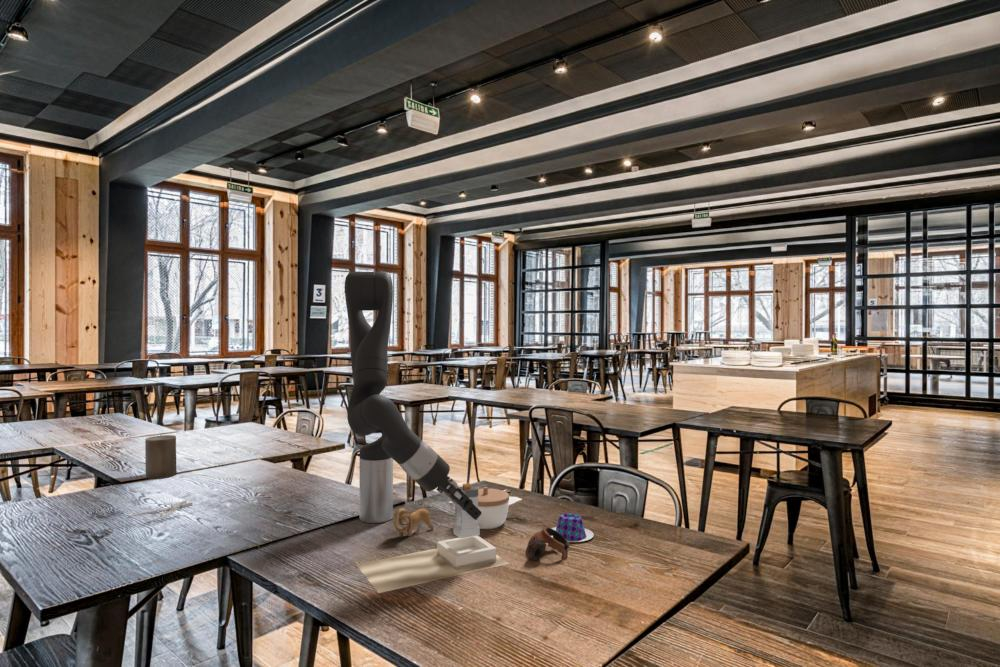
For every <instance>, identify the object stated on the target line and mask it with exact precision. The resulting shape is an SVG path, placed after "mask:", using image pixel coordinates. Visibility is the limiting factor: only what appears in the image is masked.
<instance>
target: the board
mask: <svg viewBox="0 0 1000 667" xmlns="http://www.w3.org/2000/svg"><path fill="white" fill-rule="evenodd" d="M507 565H510V563H509V562H508V561H506V559H504V558H502V557H501V556H499V555H498V554H496V562H492V563H487V564H483V565H478V566H473V567H469V568H464V569H460V570H455V569H454V568H452V567H451V566H450V565H449V564H448V563H447V562H445V561H444V560H443V559H442V558H441V557H440V556H438V555H437V548H432V549H427V550H421V551H418V552H417V551H416V552H412V553H408V554H406V553H405V554H402V555H396V556H391V557H386V558H382V559H376V560H372V561H366V562H362V563H361V562H360V563H356V564H355V566H356V567H357V568H358V570H359V571H360V572H361V573H362V575H363V576H364V578H366V580H367V581H368V583H369V584H370V585H371V586H372V587H373V589H374V590H375V591H376V593H377V594H382V593H386V592H390V591H396V590H400V589H403V588H408V587H409V588H410V587H413V586H417V585H422V584H426V583H430V582H431V583H432V582H434V581H440V580H444V579H448V578H453V577H457V576H461V575H466V574H471V573H475V572H480V571H485V570H489V569H493V568H497V567H501V566H507Z"/></svg>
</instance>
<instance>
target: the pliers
mask: <svg viewBox="0 0 1000 667" xmlns="http://www.w3.org/2000/svg"><path fill="white" fill-rule="evenodd" d="M189 506H192V507H193V502H192V501H191V502H188V501H187V500H183V501H178V502H176V503H173V504H171V505H170V507H169V508H168V507H167V508H159V509H152V510H146V511H141V512H137V513H134V514H131V515H128V518H132V517H131V516H134V517H136V516H135V515H138V516H140V515H139V514H143V515H145V514H144V513H154V514H160V513H159V512H162V511H163V512H162V513H161V515H160V516H158V517H155V518H153V519H150V520H148V523H149V522H150V523H153V522H152V521H154V522H156V521H155V520H157V521H159V520H158V519H161V518H163V519H165V518H164V517H166V518H168V517H170V516H172V515H173V514H174V513H175V512H177V511H179V510H178V509H181V510H183V509H182V508H184V509H186V508H185V507H188V508H190V507H189ZM165 510H168V512H166V511H165ZM176 510H177V511H176ZM157 511H159V512H157ZM174 511H175V512H174ZM173 512H174V513H173ZM164 513H165V514H164ZM171 514H172V515H171ZM169 515H170V516H169ZM167 516H168V517H167ZM161 520H162V519H161Z"/></svg>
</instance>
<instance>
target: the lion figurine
mask: <svg viewBox="0 0 1000 667" xmlns="http://www.w3.org/2000/svg"><path fill="white" fill-rule="evenodd" d="M392 520H393V525H394V528H395V530H397V532H398V533H399V538H402V537H404V532H405V533H406V532H407V537H411V536H413V535H412V532H413V534H415V535H418V534H419V533H420V531H421V529H422V523H424V524H425V525H426V526H428V529H429V530H428V532H430V533H431V532H434V525H433V523H432V521H431V515H430V512H429V510H427V509H426V508H418V509H417V510H415V511H414V512H410V511H409V510H407V509H405V508H403V507H401V508H398V509H397V510H395V512H393V518H392ZM416 526H417V529H416V531H413V528H416Z"/></svg>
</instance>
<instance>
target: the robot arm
mask: <svg viewBox="0 0 1000 667" xmlns="http://www.w3.org/2000/svg"><path fill="white" fill-rule="evenodd" d="M344 297H345V306H346V311H347V312H346V313H347V317H348V318H347V319H348V326H349V334H350V335H349V340H350V343H349V344H350V363H351V372H352V373H351V374H352V380H353V386H352V389H351V393H350V398H349V402H348V407H347V414H346V416H347V422H348V425H349V428H350V430H351V431H352V432H354V434H355V435H358V436H360V437H363V436H364V437H365V436H370V435H371V434H381V436H380V437H379V438H377V439H376V440H374V441H372V442H369V443H367V444H365V445H362V446H361V447H360V448H359V506H358V508H359V511H358V512H359V515H358V516H359V520H360V522H362V523H367V524H378V523H384V522H388V521H390V520H393V517H394V461H395V463H397V465H399V466H400V467H401V469H402V470H403V472H405V473H406V474H407V475H408V476H409V477H410V478H411V479H412V480H413V481H414V482H416V484H418V486H420V487H421V488H422V489H423V490H424V491H425V492H433V491H434V490H436V491H437V492H438V493H440V495H442V496H443V497H445V498H446V499H447V500H448V501H449V502H451V503H452V504H453V505H454V506H455V505H457V504H458V505H459V506H460V507H461V508H462V510H465V511H466V512H467V513H468V514H469V515H470V516H471V517H472V518H474V519H475V520H476V519H478V517H479V516H480V515H481V511H480V510H479V509H478V508H477V507H476V506H475V505H474V504H473V502H472V500H471V499H469V498H468V497H467V496H466V495H465V492H464V491H463V490H462V489H461V488H460V487H461V486H459V485H458V482H456V481H455V480H454V479H453V478H451V477H450V476H448V475H449V473H450V464H449V463H447V461H445V460H444V459H443V458H442V457H441V456H440V455H439V454H438V453H437V452H436V451H435V450H434V449H433V448H432V447H431V446H430V445H428V444H427V443H426V442H425V441H423V440H422V439H421V438H420V437H419V436H418V435H417V434H416V433H415V432H414V431H413V430H411V429H410V428H409V426H408V424H407V422H406V420H405V419H404V418H403V416H402V414H401V412H400V411H399V409H398V407H397V406H396V404H395V403H394V402H393V400H391V399H390V398H389V397H387V396H386V395H383V394H381V392H383V391H384V390H385V388H386V387H387V385H388V368H389V367H388V366H389V364H388V358H389V357H388V349H389V348H388V346H389V339H390V333H391V324H392V315H393V314H392V313H393V302H394V286H393V279H392V277H391V275H390V273H388V272H385V271H351V272H348V273H347V274H346V276H345V280H344ZM363 311H365V312H366V311H369V312H370V311H378V313H377V317H376V319H375V322H374V323H373V325H372V326H371V324H369V322H368V321H367V319H366V317H365V314H364V313H363ZM464 502H465V503H464ZM463 503H464V504H463Z"/></svg>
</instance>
